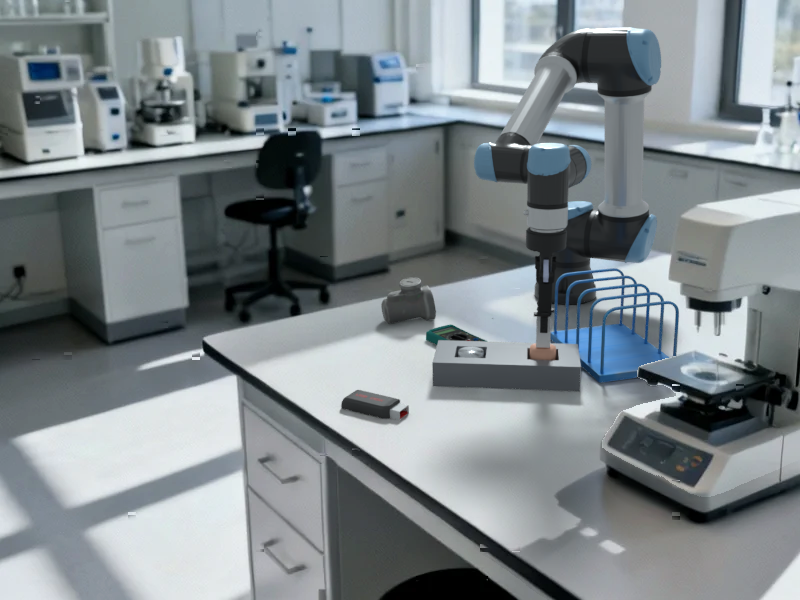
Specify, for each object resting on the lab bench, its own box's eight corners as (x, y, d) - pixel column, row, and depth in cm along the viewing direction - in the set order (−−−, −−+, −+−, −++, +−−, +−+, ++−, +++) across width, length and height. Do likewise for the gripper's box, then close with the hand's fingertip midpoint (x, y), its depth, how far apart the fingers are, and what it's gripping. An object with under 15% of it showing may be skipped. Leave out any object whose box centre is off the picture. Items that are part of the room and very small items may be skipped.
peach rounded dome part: (555, 361, 183) (555, 343, 182) (555, 371, 178) (556, 352, 177) (529, 361, 183) (530, 342, 182) (529, 370, 179) (530, 351, 178)
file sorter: (549, 339, 202) (551, 272, 197) (622, 331, 206) (625, 265, 201) (599, 384, 179) (603, 308, 174) (680, 373, 182) (686, 300, 178)
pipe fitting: (431, 310, 220) (426, 271, 216) (439, 324, 213) (434, 283, 209) (381, 320, 218) (376, 280, 214) (388, 334, 211) (382, 293, 207)
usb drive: (357, 399, 175) (356, 386, 174) (411, 412, 168) (411, 399, 168) (341, 410, 170) (340, 396, 169) (396, 424, 164) (396, 409, 163)
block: (576, 367, 186) (577, 344, 185) (579, 391, 175) (580, 367, 173) (438, 362, 190) (438, 340, 188) (432, 386, 179) (432, 362, 177)
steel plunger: (484, 365, 185) (484, 347, 184) (482, 375, 180) (483, 356, 179) (459, 364, 186) (459, 346, 184) (457, 374, 181) (457, 355, 180)
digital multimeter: (465, 362, 191) (465, 349, 190) (424, 341, 203) (424, 328, 202) (493, 354, 195) (493, 341, 194) (451, 334, 207) (451, 322, 206)
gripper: (526, 219, 179) (523, 334, 186) (526, 236, 166) (523, 358, 174) (565, 220, 178) (561, 335, 185) (568, 236, 165) (563, 359, 173)
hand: (543, 346), depth 179 cm, fingers closed
